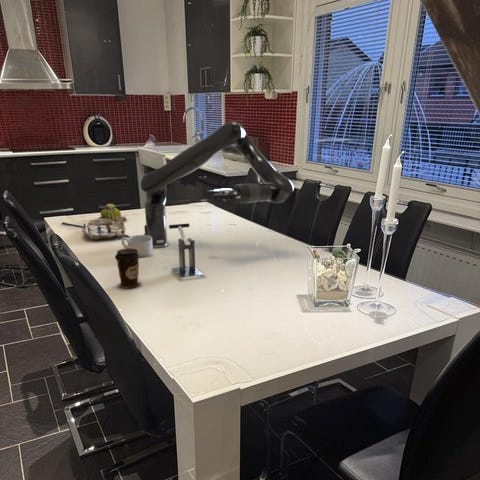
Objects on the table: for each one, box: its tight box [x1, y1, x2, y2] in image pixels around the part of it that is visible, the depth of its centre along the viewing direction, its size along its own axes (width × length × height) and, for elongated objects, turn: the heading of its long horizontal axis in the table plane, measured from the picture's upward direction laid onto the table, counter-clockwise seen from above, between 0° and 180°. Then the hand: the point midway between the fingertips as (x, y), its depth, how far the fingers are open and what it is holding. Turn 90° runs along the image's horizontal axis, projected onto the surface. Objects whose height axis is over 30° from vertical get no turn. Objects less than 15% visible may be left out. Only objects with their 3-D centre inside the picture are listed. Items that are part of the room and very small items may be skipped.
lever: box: [168, 223, 191, 250], centre depth 180 cm, size 12×8×2 cm
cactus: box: [97, 203, 127, 223], centre depth 266 cm, size 17×16×10 cm
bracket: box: [172, 237, 204, 279], centre depth 180 cm, size 12×9×14 cm
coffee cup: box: [114, 248, 140, 289], centre depth 167 cm, size 9×8×13 cm
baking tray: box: [81, 218, 127, 241], centre depth 236 cm, size 30×22×5 cm
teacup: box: [120, 234, 154, 259], centre depth 203 cm, size 14×11×8 cm
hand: (209, 195), depth 183 cm, fingers open, 8 cm apart
